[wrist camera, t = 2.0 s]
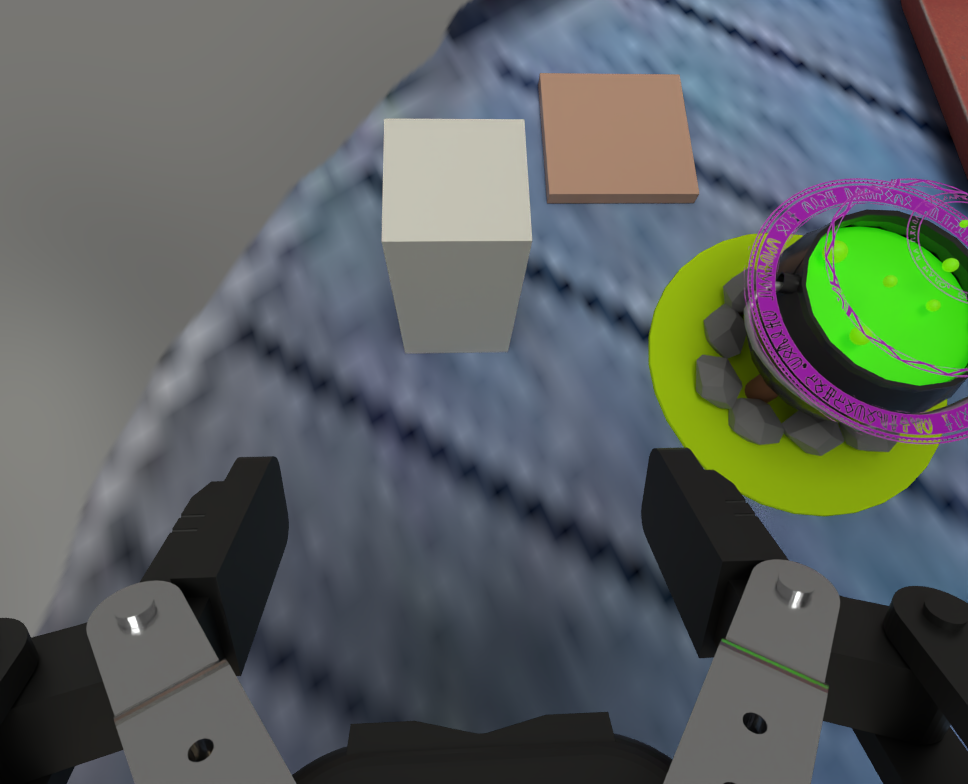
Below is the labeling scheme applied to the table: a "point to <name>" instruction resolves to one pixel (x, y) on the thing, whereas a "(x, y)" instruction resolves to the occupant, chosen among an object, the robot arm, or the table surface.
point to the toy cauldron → (819, 351)
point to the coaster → (616, 139)
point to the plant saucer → (945, 60)
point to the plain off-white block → (456, 230)
